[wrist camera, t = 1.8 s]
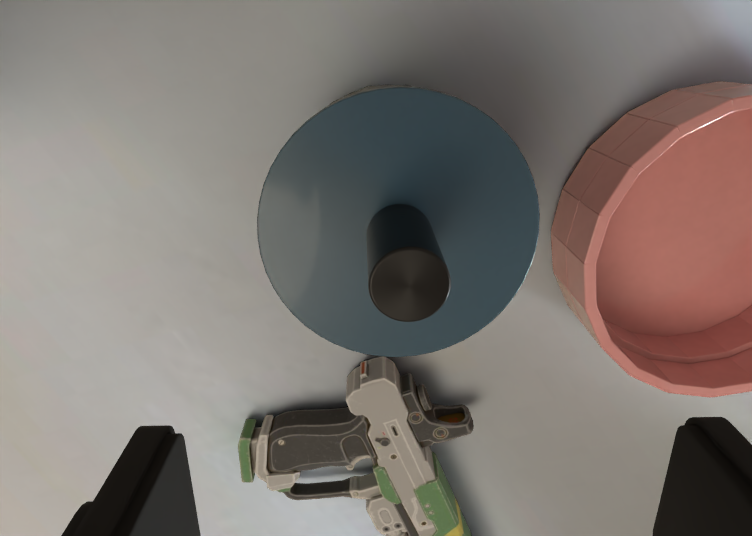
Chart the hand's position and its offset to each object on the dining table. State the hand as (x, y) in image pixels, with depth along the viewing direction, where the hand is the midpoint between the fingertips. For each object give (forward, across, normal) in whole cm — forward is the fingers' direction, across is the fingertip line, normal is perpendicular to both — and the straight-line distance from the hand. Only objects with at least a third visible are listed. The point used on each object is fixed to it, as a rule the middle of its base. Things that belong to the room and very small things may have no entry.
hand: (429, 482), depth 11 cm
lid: (+13, 0, -1) cm, 13 cm away
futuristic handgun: (+22, +1, +20) cm, 29 cm away
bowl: (+22, -17, +2) cm, 28 cm away
